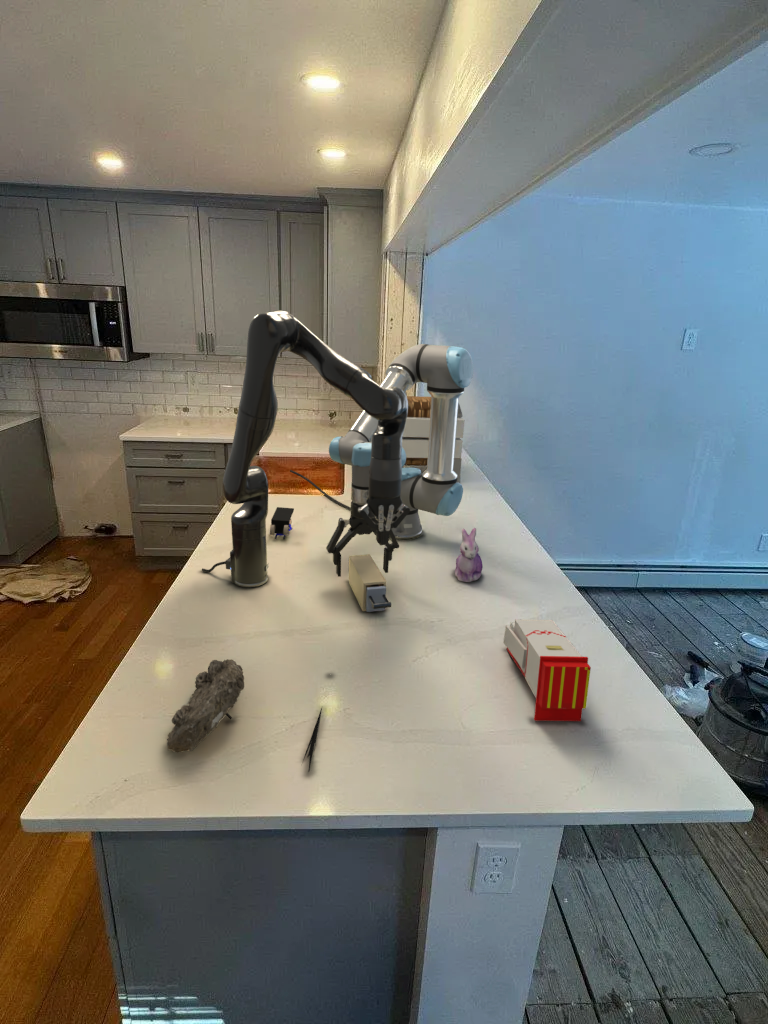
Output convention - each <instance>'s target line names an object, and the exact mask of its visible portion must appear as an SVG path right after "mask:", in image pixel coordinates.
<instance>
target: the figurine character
mask: <svg viewBox="0 0 768 1024" xmlns="http://www.w3.org/2000/svg"><path fill="white" fill-rule="evenodd" d="M294 511H295V508H294V507H292V508H291V507H280V506H276V508H275V511H274V513H273V515H272V517H271V519H270V526H269V535H270V536H274V537H273V539H274V540H277V539H278V537H282V540H286V537H287V536H288V535H289V534H290V531H292V530H293V527H292V515H293V514H294Z"/></svg>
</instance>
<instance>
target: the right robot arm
mask: <svg viewBox="0 0 768 1024" xmlns="http://www.w3.org/2000/svg"><path fill="white" fill-rule="evenodd" d="M473 377H474V363H473V359H472V355H471V354H470V352H469V351H468V350H467V349H466V348H464V347H460V346H455V345H441V344H427V343H419V344H416V345H413V346H411V347H409V348H407V349H406V350H404V351H402V352H401V353H400V354H399V355H398V356H396V357H395V358H394V359H393V360H392V362H391V363H390V364H389V365H388V367H387V368H386V370H385V377H384V378H383V380H382V381H381V383H380V384H379V385H380V386H381V387H383V388H388V387H398V388H400V389H402V390H403V391H404V393H405V391H406V392H407V391H409V390H411V389H412V388H413V387H414V385H415V384H417V383H424V384H426V391H427V392H428V394H429V395H430V397H431V409H430V426H429V443H428V460H427V466H426V469H425V470H424V471H422V470H421V468H419V467H405V465H404V464H405V462H406V453H405V450H404V449H403V448H402V467H403V466H404V468H402V478H401V495H400V497H401V500H402V503H403V504H404V505H406V506H408V507H409V509H410V512H409V513H408V514H407V515H406V517H405V518H404V519H403V520H402V522H401V523H400V524H399V525H398V526H397V528H392V529H390V531H389V540H390V541H391V543H390V542H389V541H388V543H386V545H384V547H383V559H382V570H383V572H384V573H385V574H388V573H389V564H390V563H389V562H391V561H392V560H393V552H394V551H395V549H399V548H400V544H399V542H398V541H410V540H415V539H418V538H420V537H421V536H422V535H423V525H422V524H421V518H420V515H419V510H420V511H423V512H426V513H431V514H433V515H436V516H443V517H450V516H452V515H453V514H454V513H456V511H457V509H458V508H459V506H460V504H461V502H462V499H463V494H464V487H463V484H462V483H461V482H459V483H457V474H456V473H455V472H454V471H453V466H454V453H455V439H456V426H457V413H458V402H459V398H460V397H461V396H462V395H463V394H464V393H465V389H466V388H468V387H469V386H470V384H471V383H472V379H473ZM377 426H378V420H376V419H374V418H373V417H371V416H370V415H368V414H367V413H366V412H365V411H364V410H363V409H362V410H361V412H360V414H359V415H358V417H357V418H356V419H355V421H354V422H353V424H352V425H351V427H350V428H349V430H348V431H347V432H346V434H345V435H344V436H342V435H341V436H335V437H334V438H332V440H331V441H330V443H329V445H328V454H329V457H330V459H331V460H332V461H334V462H336V463H339V464H342V465H347V466H351V487H350V492H351V493H350V500H351V502H350V506H349V505H346V504H344V503H343V502H341V501H339V500H337V499H336V498H333V497H332V496H331V495H329V494H328V493H326V492H325V491H324V490H322V489H321V488H320V487H319V486H317V485H316V483H314V482H313V481H311V480H310V479H309V478H307V477H306V476H304V475H303V474H301V473H299V472H297V471H295V470H292V469H289V472H290V473H292V474H293V475H296V476H298V477H300V478H302V479H303V480H305V481H306V482H307V483H309V484H310V485H312V486H313V487H314V488H315V489H316V490H318V492H320V493H321V494H322V495H324V496H325V497H326V498H327V499H329V500H330V501H332V502H333V503H335V504H337V505H339V506H341V507H343V508H344V509H347V510H349V511H350V517H349V518H348V519H345V518H343V517H339V518H338V523H337V526H336V528H335V530H334V532H333V534H332V536H331V537H330V540H329V542H328V543H327V545H326V551H327V553H328V554H332V563H333V565H334V566H335V569H336V571H335V573H336V575H337V578H340V577H342V553H341V552H342V551H343V549H344V548H346V546H347V545H348V544H349V542H350V541H351V540H353V538H355V537H356V536H357V535H359V536H363V535H371V534H372V533H373V534H374V535H375V536H376V529H372V528H371V527H370V526H369V525H368V523H367V522H366V521H365V520H364V518H363V517H362V516H361V515H360V513H359V512H358V510H357V509H358V508H359V507H363V506H364V505H365V504H366V501H367V499H368V496H369V469H370V460H371V445H372V436H373V433H374V432H375V431H376V429H377ZM398 509H399V508H398ZM368 511H369V514H368V516H369V517H370V518H371V520H372V521H373V522H375V523H376V519H375V515H374V514H373V512H372V511H371V510H370V508H369V509H368ZM397 512H398V510H397V511H396V512H395V514H394V515H393V516H392V518H393V517H394V516H395V515H396V513H397ZM348 525H349V526H350V527H349V528H348V530H347V531H346V533H345V534H344V535H343V536H342V534H343V532H344V531H345V528H347V526H348ZM341 536H342V538H341ZM340 538H341V539H340Z"/></svg>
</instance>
